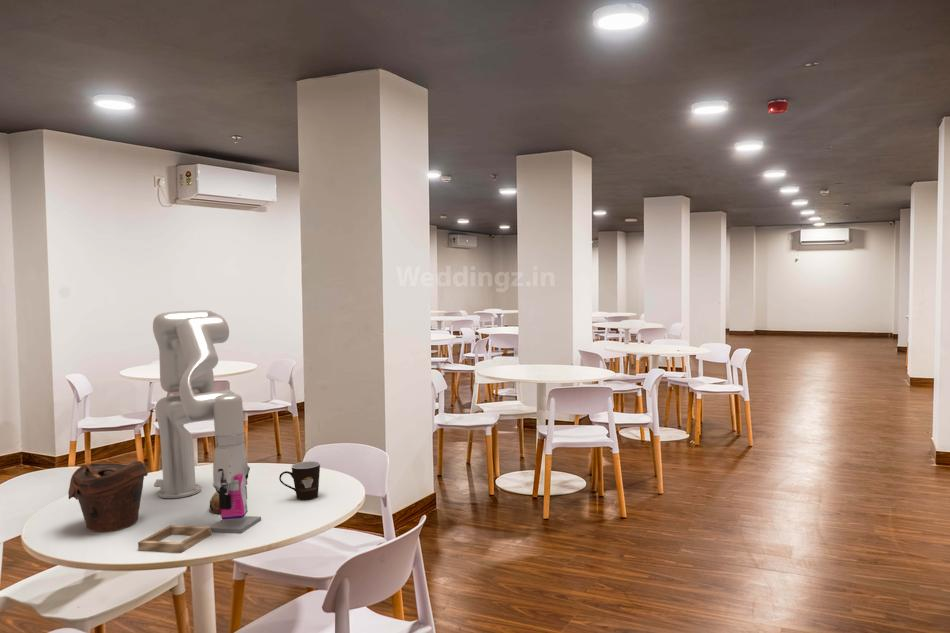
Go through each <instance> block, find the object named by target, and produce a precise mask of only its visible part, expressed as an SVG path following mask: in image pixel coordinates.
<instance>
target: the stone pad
mask: <svg viewBox="0 0 950 633" xmlns="http://www.w3.org/2000/svg"><path fill="white" fill-rule="evenodd" d="M261 521H262V516H254V515H253V516H252V515H250V516H249V515H245V516H244V517H243V518H236V519H222V518H221V519H220V520H219V521H217V522H216V523H214V524H212V525H210V526H209V527H211V533H230V534H242V533H244V532H245V531H247V530H248V529H250V528H252V527H253V526H255V525H256V524H258V523H259V522H261Z"/></svg>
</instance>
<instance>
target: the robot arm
mask: <svg viewBox="0 0 950 633" xmlns="http://www.w3.org/2000/svg"><path fill="white" fill-rule="evenodd" d="M152 332H153V335H154V339H155V341H156V344H157V347H158V351H159V354H158V355H159V358H158V359H159V380H160V381H159V382H160V386H161V388H162V389H161V390H163V391H165V392H166V393H177V392H179V394H174V395H167V396H164V397H161V398H160V399H159V400H158V401H157V402H156V404H155V407H154V408H155V411H154V412H155V416H156V421H157V424H158V429H159V430H158V431H159V438H160V450H161V452H160V454H161V468H162V479H161V478H158V479H156V480H155V482H154V483H153V487H155V488H159V487H160V490H159V491H158V497H159V498H162V499H180V498H185V497H189V496H193V495H195V494H198V493H199V492H200V491H202V486H201V485H200V484H198V483H196V481H197V480H196V468H195V451H194V439H193V435H192V433H191V432H190V431H189V430H188V429H187V428H185V425H186V424H187V425H188V424H191V423H192V424H193V423H197V422H204V421H209V420H213V423H214V424H213V426H214V442H215V448H214V452H213V460H212V461H213V464H212V466H213V467H212V469H213V471H212V472H213V474H212V476H213V477H212V478H213V479H212V480H213V483H212V487H213V488H214V489H215V491H216V492H217V494H218V495H219V504H220V509H231V494H229V491H230V486H231V484H232V483H233V482H234V478H235V477H236V476H238V475H240V474H242V473H243V474H244V477H245V486H246V499H247V500H248V492H247V491H248V489H247V488H248V487H247V485H248V479H249V474H250V470H251V467H250V466H249V465H248V455H247V450H246V444H245V441H246V439H245V428H244V426H245V425H244V424H245V422H244V406H243V398H242V396H241V395H240V394H237V393H235V392H234V391H232V390H230V389H229V390H227V389H226V390H219V391H218V390H217V391H215V387H214V386H215V385H214V384H215V381H214V380H215V378H214V371H213V369H215V368H216V367H217V365H218V363H219V356H218V354H217V351H216V349H215V345H214V344H222V343H225V342H226V341H228V339H229V337H230V328H229V325H228V323H227V320H226V319H225V318H224V317H223V316H222V315H220V314H218V313H216V312H213V311H211V310H206V309H205V310H204V309H201V310H180V311H167V312H162V313H159V314H156V316H155V317H154V319H153V321H152ZM194 390H196V392H194ZM222 480H226V483H222ZM223 485H224V486H226V489H225V488H224V487H223Z"/></svg>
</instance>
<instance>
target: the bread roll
mask: <svg viewBox="0 0 950 633" xmlns="http://www.w3.org/2000/svg"><path fill="white" fill-rule="evenodd" d="M209 513H212V514H217V515H221V509H220V504H219V495H218V494H217V491H216V492H214V493H213V495H212V496H211V498H210V500H209Z"/></svg>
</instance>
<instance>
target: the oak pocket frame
mask: <svg viewBox="0 0 950 633" xmlns="http://www.w3.org/2000/svg"><path fill="white" fill-rule="evenodd" d="M171 535H179V536H181V535H182V536H189V537H187V538H185V539H183V540H182V541H180V542H178V541H177V542H176V541H163V540H164V539H166V538H168V537H169V536H171ZM211 535H212V532H211V527H210V526H200V525H199V526H197V525H196V526H195V525H176V524H174V525H173V524H169V525H168V526H166V527H163V528H162V529H160V530H158V531H156V532H154V533H153V534H151V535H149V536H147V537H146V538H143V539H142V540H139V541H138V542H137V548H138V551H147V552H148V551H151V552H166V553H168V552H169V553H183V552H185V551H187V550H188V549H189V548H191V547H193V546H195V545H196V544H198V543H200V542H201V541H203V540H204V539H206V538H209V537H210V536H211Z"/></svg>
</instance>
